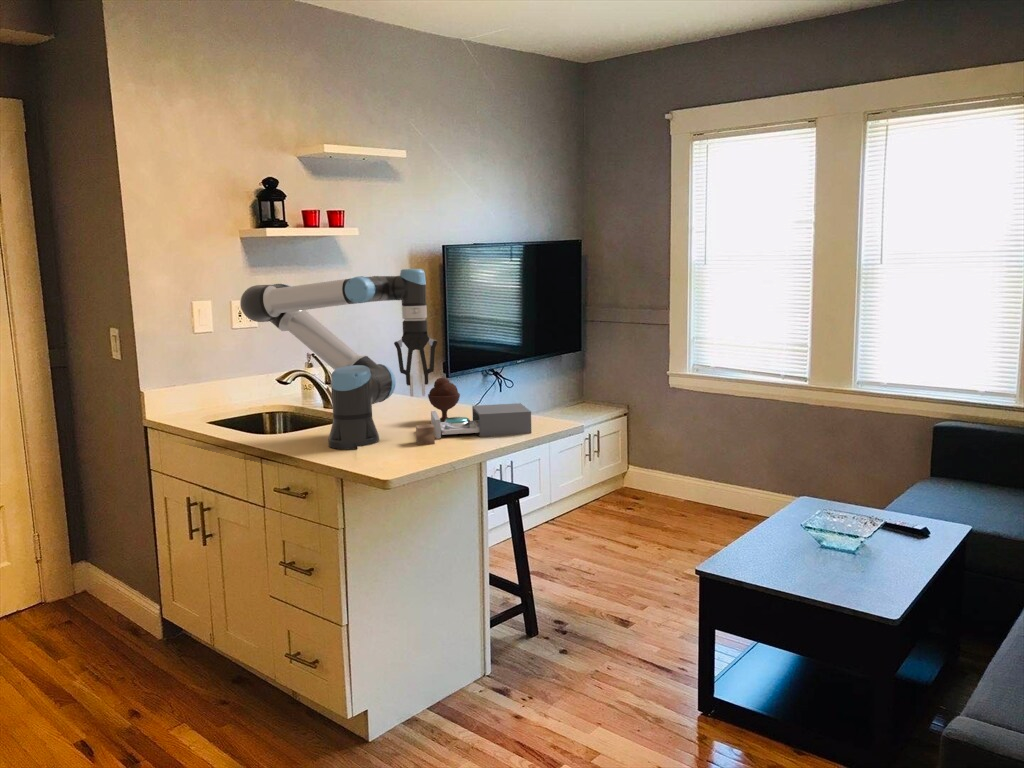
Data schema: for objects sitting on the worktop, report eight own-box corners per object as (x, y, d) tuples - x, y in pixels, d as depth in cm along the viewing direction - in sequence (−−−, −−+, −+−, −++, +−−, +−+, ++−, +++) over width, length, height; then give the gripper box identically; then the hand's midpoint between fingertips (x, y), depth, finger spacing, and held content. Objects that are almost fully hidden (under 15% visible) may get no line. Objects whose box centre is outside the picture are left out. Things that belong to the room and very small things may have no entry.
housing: (480, 436, 253) (479, 414, 252) (472, 426, 270) (472, 405, 269) (531, 433, 256) (531, 411, 255) (521, 424, 272) (520, 403, 271)
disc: (445, 430, 256) (445, 422, 255) (443, 426, 263) (443, 417, 263) (471, 429, 257) (471, 420, 256) (468, 424, 265) (468, 416, 264)
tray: (436, 438, 251) (435, 419, 250) (431, 428, 267) (430, 411, 266) (488, 435, 254) (487, 417, 253) (480, 426, 270) (480, 408, 269)
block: (417, 444, 243) (417, 428, 243) (416, 441, 248) (415, 425, 248) (434, 443, 244) (434, 427, 244) (433, 440, 249) (432, 424, 248)
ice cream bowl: (422, 423, 278) (420, 379, 276) (440, 418, 287) (438, 375, 285) (449, 425, 273) (447, 380, 271) (466, 420, 282) (465, 376, 280)
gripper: (388, 321, 248) (392, 398, 251) (442, 319, 251) (444, 395, 254) (387, 319, 256) (391, 395, 259) (439, 318, 258) (442, 392, 262)
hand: (417, 395), depth 257 cm, fingers open, 3 cm apart
